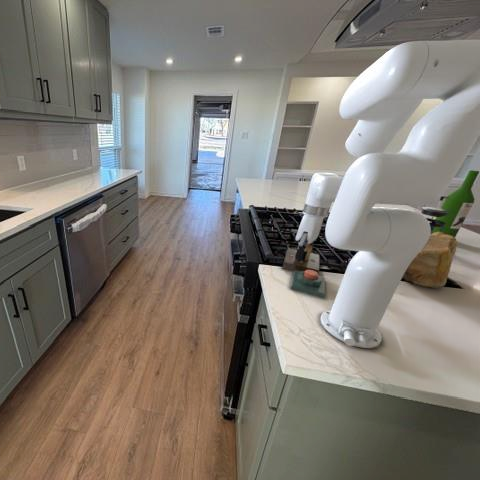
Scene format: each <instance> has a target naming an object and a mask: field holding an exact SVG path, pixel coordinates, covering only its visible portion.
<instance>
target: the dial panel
mask: <svg viewBox="0 0 480 480" xmlns="http://www.w3.org/2000/svg"><path fill="white" fill-rule="evenodd" d="M296 252H297V249H294V248H290V247H287V250H286V253H285V257H284V260H283V263H282V270H285V271H289V272H293V273H294V271H295V270H297V271H305V270H313V271H315V272H317V273H318V274H319V272H320V254H317V253H313V252H311V254H310V258H309V260H308V261H301V260H298V259H295V256H296Z"/></svg>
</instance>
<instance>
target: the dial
mask: <svg viewBox="0 0 480 480" xmlns="http://www.w3.org/2000/svg"><path fill="white" fill-rule="evenodd" d="M304 245H305V247H306V244H304ZM313 247H314V246H311V245H308V248H307V255H306V258H305V261H308V260H309V258H310V254H311V253H312V250H313Z"/></svg>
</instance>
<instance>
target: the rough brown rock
mask: <svg viewBox="0 0 480 480" xmlns="http://www.w3.org/2000/svg"><path fill="white" fill-rule="evenodd" d="M457 242H458V241H457V238H456V237H455V238H454V237H453V236H451V235H445V234H444V233H442V232H435V233H433V234H430V237H429V239H428V241H427V243H426V245H425V246H424V247H423V249H422V250H421V251H420V252H419V253H418V254H417V256H416V257H415V258H414V259H413V260H412V262H411V263H410V265H409V266H408V268H407V269H406V271H405V273H404V275H403V277H402V279H404V280H405V281H406V282H412V283H413V284H415V285H419V286H422V287H427V288H431V289H439V288H442V287H444V286H445V285H446V283H448V282H447V280H448V278H449V274H450V271H451V267H452V262H453V259H454V256H455V254H456V252H457Z"/></svg>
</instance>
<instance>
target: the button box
mask: <svg viewBox="0 0 480 480" xmlns="http://www.w3.org/2000/svg"><path fill="white" fill-rule="evenodd" d="M304 273H305V271H297V270H295V271H294V272H293V276H292V280H291V281H292V282H291V286H290V289H291V290H293V291H296V292H300V293H303V294H307V295H310V296H314V297H318V298H321V299H324V298H325V296H326V280H325V279H326V278H325V277H324V276H321V275H319V274H318V276H317V279H316V280H311V279H308V278H306V277H304Z"/></svg>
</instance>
